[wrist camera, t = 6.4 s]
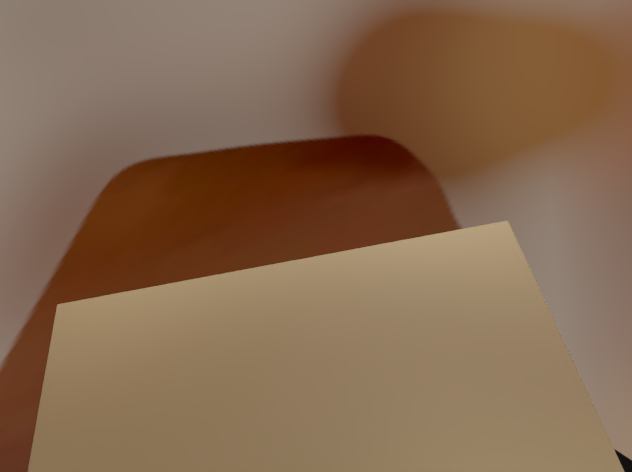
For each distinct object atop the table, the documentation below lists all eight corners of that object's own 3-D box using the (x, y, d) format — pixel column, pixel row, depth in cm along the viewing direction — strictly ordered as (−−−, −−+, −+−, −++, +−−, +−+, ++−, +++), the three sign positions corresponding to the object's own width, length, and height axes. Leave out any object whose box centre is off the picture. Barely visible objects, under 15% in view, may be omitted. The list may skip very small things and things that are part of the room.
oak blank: (416, 464, 12) (992, 1262, 1) (292, 485, 12) (-137, 1391, 1) (384, 334, 14) (507, 220, 3) (278, 353, 14) (56, 304, 3)
